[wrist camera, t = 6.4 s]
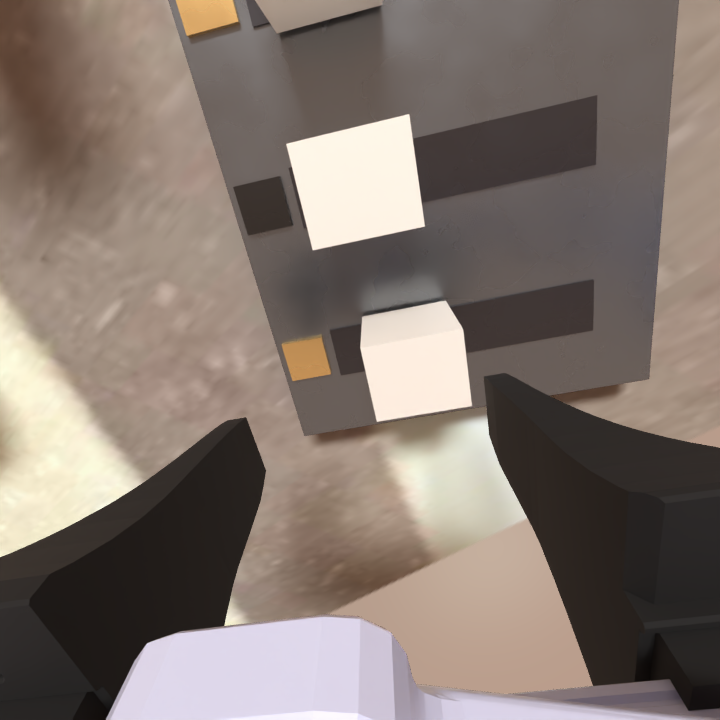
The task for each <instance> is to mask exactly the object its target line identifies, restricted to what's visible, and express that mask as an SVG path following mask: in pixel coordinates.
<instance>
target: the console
mask: <svg viewBox="0 0 720 720" xmlns="http://www.w3.org/2000/svg"><path fill="white" fill-rule="evenodd" d="M168 1H169V4H170V7H171V10H172V14H173V17H174V20H175V23H176V26H177V30H178V33H179V36H180V39H181V42H182V46H183V49H184V52H185V55H186V58H187V62H188V65H189V68H190V71H191V74H192V78H193V81H194V84H195V87H196V90H197V94H198V97H199V100H200V103H201V107H202V110H203V113H204V116H205V119H206V123H207V126H208V129H209V132H210V135H211V139H212V142H213V145H214V148H215V151H216V155H217V158H218V161H219V164H220V167H221V171H222V174H223V177H224V180H225V183H226V187H227V190H228V193H229V196H230V199H231V203H232V206H233V209H234V212H235V215H236V219H237V222H238V225H239V228H240V231H241V235H242V238H243V241H244V244H245V247H246V251H247V254H248V257H249V260H250V263H251V267H252V270H253V273H254V276H255V279H256V283H257V286H258V289H259V292H260V295H261V299H262V302H263V305H264V308H265V311H266V315H267V318H268V321H269V324H270V327H271V331H272V334H273V337H274V340H275V343H276V347H277V350H278V353H279V356H280V359H281V363H282V366H283V369H284V372H285V375H286V379H287V382H288V385H289V388H290V391H291V395H292V398H293V401H294V404H295V407H296V411H297V414H298V417H299V420H300V423H301V427H302V430H303V433H304V436H307V435H313V434H320V433H326V432H332V431H338V430H344V429H350V428H356V427H362V426H368V425H374V424H380V423H386V422H392V421H398V420H405V419H411V418H417V417H423V416H429V415H435V414H441V413H447V412H453V411H459V410H465V409H471V408H477V407H483V406H486V396H485V386H484V376H489V375H495V374H501V373H507V374H509V375H511V376H513V377H515V378H517V379H518V380H520V381H522V382H524V383H526V384H528V385H529V386H531V387H533V388H535V389H537V390H539V391H541V392H543V393H544V394H546V395H548V396H550V395H556V394H562V393H568V392H574V391H580V390H587V389H593V388H599V387H605V386H611V385H617V384H623V383H629V382H635V381H641V380H647V379H649V373H650V360H651V347H652V335H653V322H654V309H655V297H656V284H657V271H658V259H659V246H660V233H661V221H662V208H663V195H664V183H665V170H666V157H667V145H668V132H669V119H670V107H671V94H672V81H673V68H674V56H675V43H676V30H677V18H678V5H679V0H383V2H382V5H380V6H376V7H373V8H369V9H365V10H362V11H358V12H354V13H351V14H347V15H343V16H340V17H336V18H332V19H329V20H325V21H321V22H317V23H314V24H310V25H306V26H303V27H299V28H295V29H292V30H288V31H284V32H281V33H276V32H275V30H274V29H273V27H272V26H271V24H270V22H269V21H268V19H267V18H266V16H265V15H264V13H263V12H262V10H261V9H260V7H259V6H258V4H257V3H256V1H255V0H168ZM407 114H409V116H410V124H411V131H412V138H413V145H414V152H415V159H416V166H417V174H418V181H419V188H420V195H421V202H422V209H423V216H424V224H425V227H420V228H415V229H411V230H406V231H401V232H397V233H392V234H387V235H383V236H378V237H373V238H369V239H364V240H359V241H354V242H350V243H345V244H340V245H336V246H331V247H326V248H322V249H317V250H313V249H312V245H311V241H310V237H309V233H308V229H307V225H306V221H305V217H304V213H303V209H302V205H301V201H300V197H299V193H298V189H297V185H296V181H295V177H294V173H293V169H292V165H291V161H290V157H289V153H288V149H287V145H286V144H288V143H292V142H296V141H300V140H304V139H308V138H312V137H317V136H321V135H325V134H329V133H333V132H337V131H341V130H345V129H350V128H354V127H358V126H362V125H366V124H370V123H374V122H379V121H383V120H387V119H391V118H395V117H399V116H403V115H407ZM440 301H446V302H447V303H448V305H449V307H450V308H451V310H452V312H453V313H454V315H455V317H456V318H457V320H458V322H459V323H460V325H461V326H462V328H463V332H464V341H465V350H466V358H467V367H468V376H469V384H470V393H471V401H472V406H470V407H463V408H457V409H451V410H445V411H439V412H433V413H427V414H421V415H415V416H409V417H403V418H397V419H391V420H385V421H379V422H377V420H376V416H375V411H374V407H373V403H372V398H371V394H370V389H369V385H368V380H367V376H366V371H365V367H364V363H363V358H362V354H361V349H360V344H361V328H362V317H363V316H368V315H373V314H378V313H384V312H389V311H394V310H399V309H404V308H409V307H415V306H420V305H425V304H430V303H435V302H440Z"/></svg>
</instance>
